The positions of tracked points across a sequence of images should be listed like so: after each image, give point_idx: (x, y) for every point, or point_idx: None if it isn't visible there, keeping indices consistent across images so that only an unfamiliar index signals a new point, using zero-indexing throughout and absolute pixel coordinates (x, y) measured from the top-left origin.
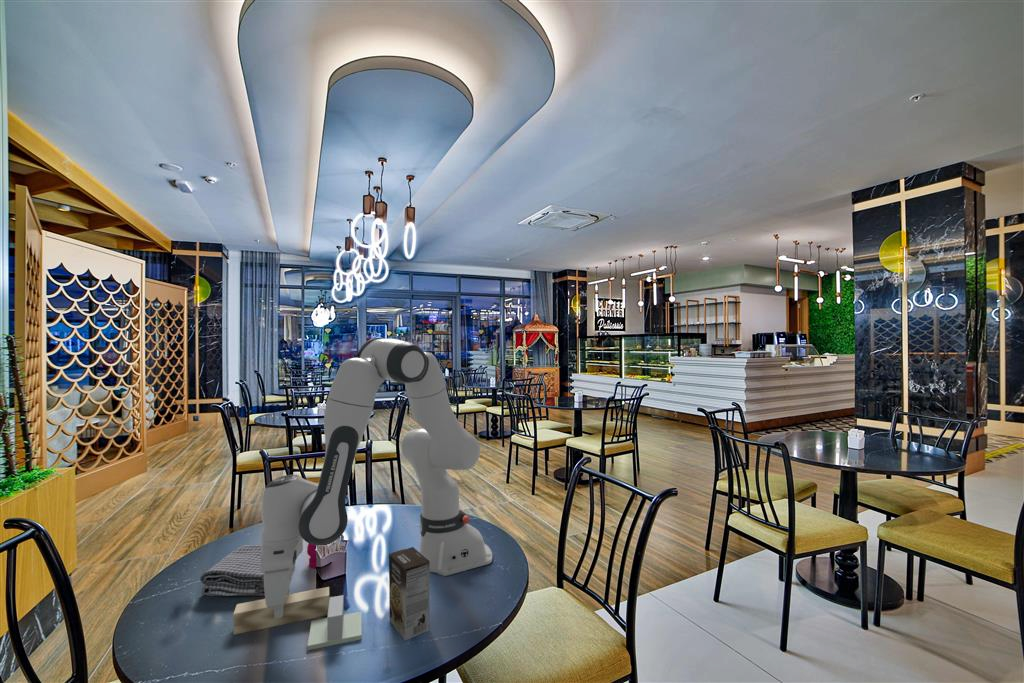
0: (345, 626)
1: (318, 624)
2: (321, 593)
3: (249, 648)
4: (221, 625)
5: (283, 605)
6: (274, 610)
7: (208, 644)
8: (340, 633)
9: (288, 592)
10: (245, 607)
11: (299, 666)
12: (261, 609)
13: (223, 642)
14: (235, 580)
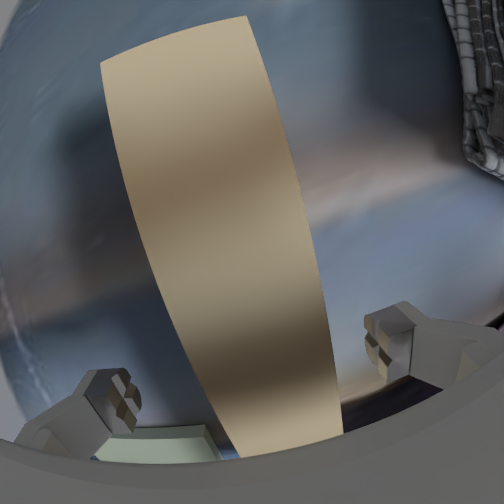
0: None
1: (180, 454)
2: None
3: (53, 240)
4: (241, 12)
5: (97, 450)
6: (64, 402)
7: (100, 41)
8: None
9: (372, 362)
10: (178, 103)
11: (35, 410)
12: (152, 259)
13: (98, 92)
14: (491, 4)
